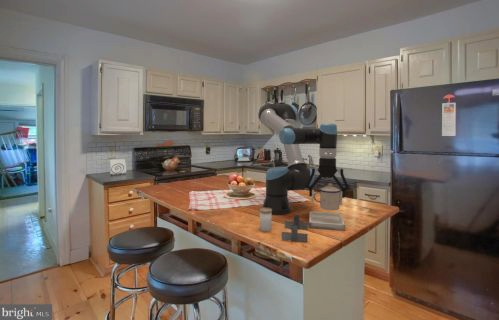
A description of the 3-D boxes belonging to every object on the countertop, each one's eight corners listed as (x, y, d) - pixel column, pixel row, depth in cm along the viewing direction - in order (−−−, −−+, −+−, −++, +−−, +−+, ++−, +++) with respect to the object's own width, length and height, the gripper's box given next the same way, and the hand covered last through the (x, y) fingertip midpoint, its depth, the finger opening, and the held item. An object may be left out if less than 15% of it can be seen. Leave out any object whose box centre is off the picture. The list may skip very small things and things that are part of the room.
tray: (309, 228, 123) (309, 222, 123) (309, 216, 141) (309, 211, 140) (344, 230, 120) (344, 225, 120) (340, 218, 137) (340, 213, 137)
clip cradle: (281, 240, 109) (281, 225, 109) (285, 227, 124) (285, 214, 124) (307, 242, 107) (307, 227, 107) (307, 229, 122) (308, 215, 121)
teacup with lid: (339, 206, 132) (340, 182, 131) (340, 211, 123) (341, 185, 122) (313, 204, 135) (314, 181, 134) (312, 209, 127) (313, 184, 125)
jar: (258, 231, 119) (258, 210, 119) (260, 226, 125) (260, 207, 124) (270, 232, 118) (271, 211, 117) (272, 227, 123) (272, 207, 123)
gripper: (300, 157, 126) (299, 204, 128) (357, 158, 121) (355, 207, 123) (301, 156, 134) (300, 200, 136) (354, 157, 128) (352, 203, 130)
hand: (326, 204), depth 129 cm, fingers closed on teacup with lid, 12 cm apart
